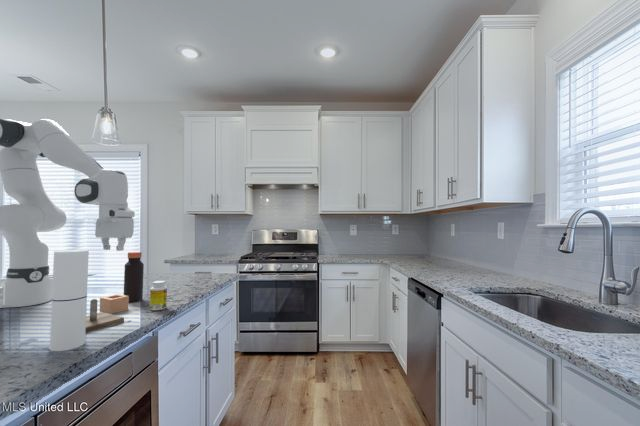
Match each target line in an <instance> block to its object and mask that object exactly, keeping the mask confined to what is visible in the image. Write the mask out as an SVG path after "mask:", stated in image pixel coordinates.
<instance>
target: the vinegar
mask: <svg viewBox="0 0 640 426" xmlns="http://www.w3.org/2000/svg"><path fill="white" fill-rule="evenodd" d="M127 260H128V261H127V262H126V263H125V264H124V277H123V279H124V280H123V295H126V296H129V303H135V302H141V301H142V300H143V295H144V294H143V293H144V292H143V291H144V269H145V267H144V263H143V262H142V261H141V260H142V251H129V252H127Z"/></svg>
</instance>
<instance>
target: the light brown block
mask: <svg viewBox="0 0 640 426" xmlns="http://www.w3.org/2000/svg"><path fill="white" fill-rule="evenodd" d="M129 304H130V302H129V296H126V295H124V294H120V293H116V294H111V295H108V296H102V297H100V298H99V313H102V312H104V313H108V314H112V315H113V314H115V313H120V312H124V311H129Z"/></svg>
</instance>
